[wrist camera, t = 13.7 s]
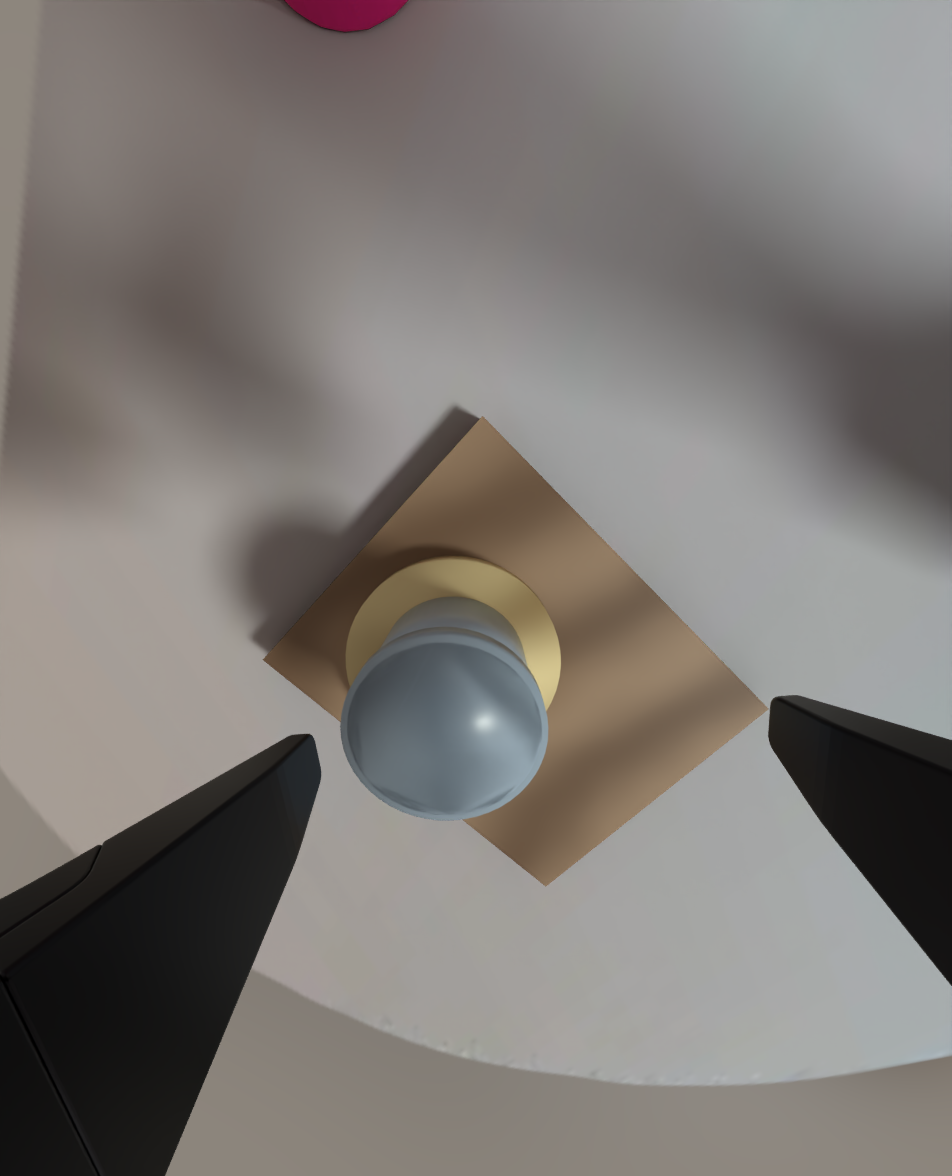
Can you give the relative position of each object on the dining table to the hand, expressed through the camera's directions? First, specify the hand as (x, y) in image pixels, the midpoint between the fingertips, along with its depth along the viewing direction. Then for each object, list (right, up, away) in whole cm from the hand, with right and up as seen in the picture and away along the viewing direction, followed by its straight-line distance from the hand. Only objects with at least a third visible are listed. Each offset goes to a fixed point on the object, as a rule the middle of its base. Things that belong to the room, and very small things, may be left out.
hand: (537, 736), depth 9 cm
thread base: (+1, -1, +12) cm, 12 cm away
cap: (-2, 0, +10) cm, 10 cm away
